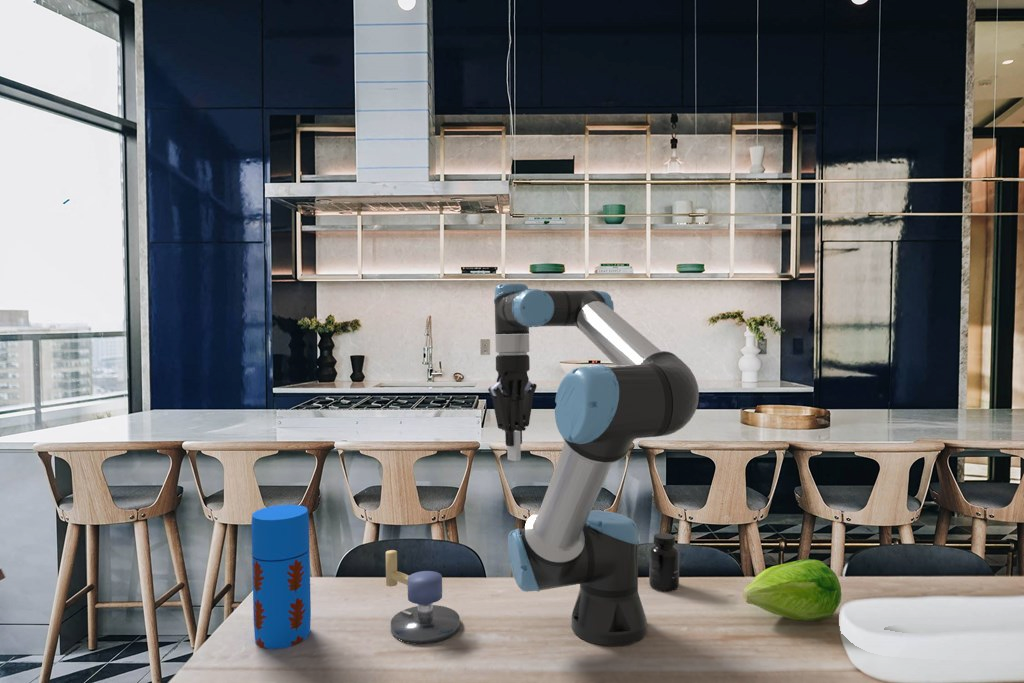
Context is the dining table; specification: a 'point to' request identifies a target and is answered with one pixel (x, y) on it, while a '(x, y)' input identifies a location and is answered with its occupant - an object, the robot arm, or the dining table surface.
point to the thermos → (281, 575)
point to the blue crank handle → (414, 581)
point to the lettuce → (796, 590)
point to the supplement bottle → (664, 563)
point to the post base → (425, 624)
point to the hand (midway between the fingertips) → (514, 459)
